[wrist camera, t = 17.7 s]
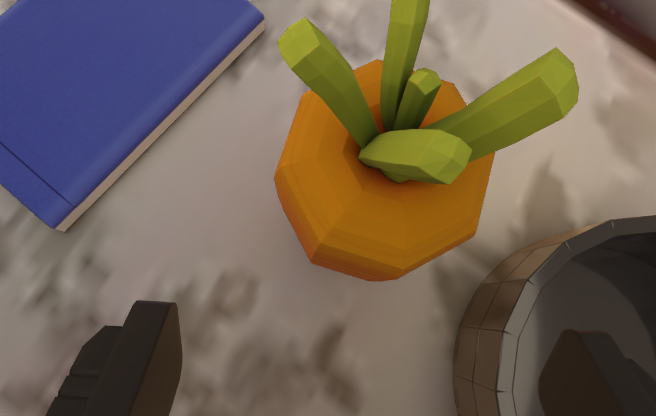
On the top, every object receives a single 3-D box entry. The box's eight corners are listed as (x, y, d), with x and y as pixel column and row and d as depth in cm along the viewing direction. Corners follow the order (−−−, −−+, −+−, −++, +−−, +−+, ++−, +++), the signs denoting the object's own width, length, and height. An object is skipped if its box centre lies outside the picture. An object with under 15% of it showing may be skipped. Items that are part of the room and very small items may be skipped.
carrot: (258, 241, 20) (170, 71, 6) (332, 155, 21) (420, -176, 7) (348, 317, 20) (505, 346, 5) (420, 227, 21) (717, 42, 6)
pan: (400, 441, 19) (432, 480, 15) (526, 185, 22) (585, 154, 17) (675, 604, 19) (793, 696, 14) (771, 323, 21) (896, 327, 17)
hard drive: (125, -100, 21) (-101, 95, 19) (264, 11, 21) (48, 227, 18) (136, -73, 23) (-72, 111, 21) (266, 31, 22) (67, 233, 20)
